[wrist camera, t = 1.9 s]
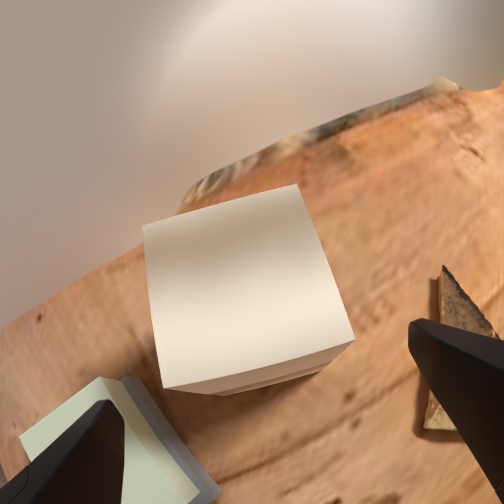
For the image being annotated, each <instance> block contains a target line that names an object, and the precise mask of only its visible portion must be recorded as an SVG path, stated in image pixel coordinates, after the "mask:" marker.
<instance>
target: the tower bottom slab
mask: <svg viewBox="0 0 504 504" xmlns="http://www.w3.org/2000/svg"><path fill="white" fill-rule="evenodd" d="M119 381H121V382H122V383H123V385H124V387H125V388H126V390H127V392H128V393H129V395H130V396H131V398H132V400H133V401H134V403H135V404H136V406H137V407H138V409H139V410H140V412H141V413H142V415H143V417H144V418H145V420H146V421H147V422H148V424H149V425H150V427H151V428H152V430H153V431H154V433H155V434H156V435H157V437H158V438H159V440H160V441H161V442H162V444H163V445H164V447H165V448H166V449H167V451H168V452H169V453H170V455H171V456H172V457H173V459H174V460H175V461H176V462H177V464H178V465H179V466H180V468H181V469H182V470H183V471H184V473H185V474H186V475H187V476H188V478H189V479H190V480H191V481H192V482H193V484H194V485H195V486H196V487H197V488H198V490H199V491H200V493H199V494H198V495H197V496H196V497H194V498H193V499H192V500H191V501H190V502H189V503H188V504H209V503H211V502H213V501H215V500H216V499H217V498H218V496H219V495H220V494H221V493H222V490H221V489H220V488H219V486H218V485H217V484H216V483H215V482H214V480H213V479H212V478H211V477H210V476H209V474H208V473H207V472H206V471H205V470H204V468H203V467H202V466H201V465H200V463H199V462H198V461H197V460H196V458H195V457H194V456H193V454H192V453H191V452H190V450H189V449H188V448H187V447H186V445H185V444H184V443H183V441H182V440H181V438H180V437H179V436H178V434H177V433H176V432H175V430H174V429H173V427H172V426H171V425H170V423H169V422H168V420H167V419H166V417H165V416H164V414H163V413H162V411H161V410H160V409H159V407H158V406H157V404H156V403H155V401H154V399H153V398H152V396H151V395H150V393H149V392H148V390H147V389H146V387H145V385H144V384H143V382H142V381H141V379H140V378H138V377H134V376H130V375H125V376H123V377H122V378H120V379H119Z"/></svg>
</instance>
